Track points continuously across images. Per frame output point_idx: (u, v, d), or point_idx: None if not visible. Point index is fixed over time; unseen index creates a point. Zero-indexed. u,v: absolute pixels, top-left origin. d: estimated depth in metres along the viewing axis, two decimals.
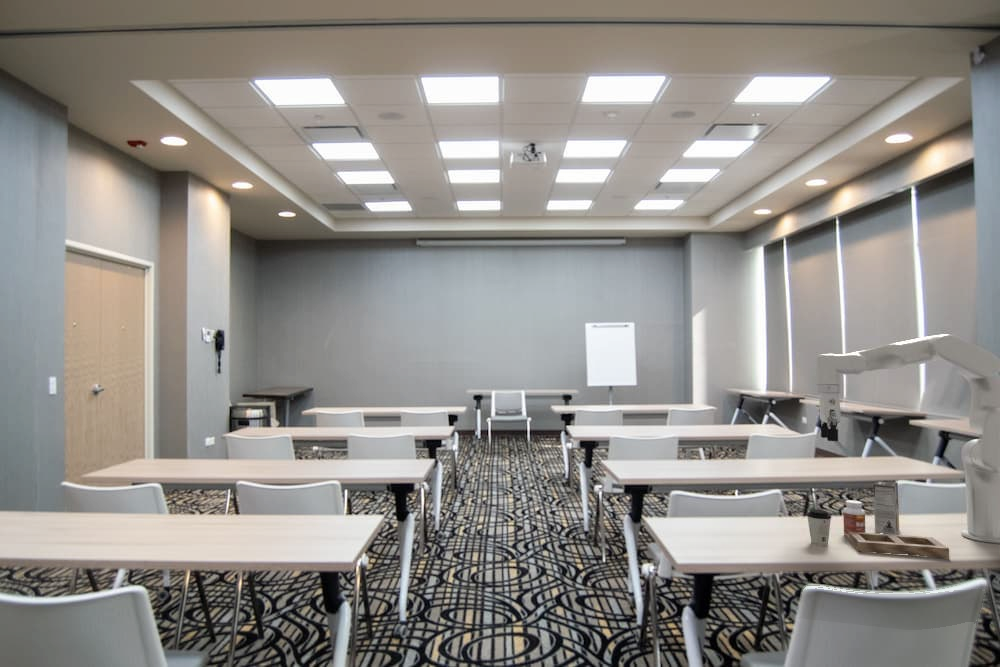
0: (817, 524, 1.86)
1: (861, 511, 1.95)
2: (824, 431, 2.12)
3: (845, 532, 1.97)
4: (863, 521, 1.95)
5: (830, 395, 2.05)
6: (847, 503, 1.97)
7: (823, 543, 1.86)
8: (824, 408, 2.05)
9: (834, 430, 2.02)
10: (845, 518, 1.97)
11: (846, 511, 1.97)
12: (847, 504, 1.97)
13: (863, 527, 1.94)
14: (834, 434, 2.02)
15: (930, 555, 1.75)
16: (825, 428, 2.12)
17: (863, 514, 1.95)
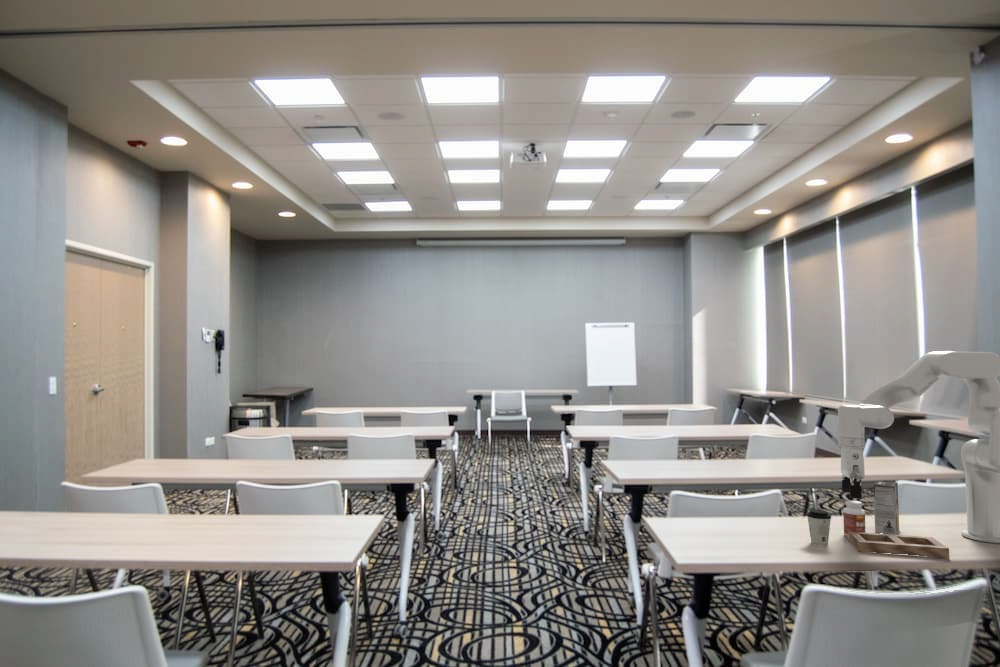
0: (817, 524, 1.86)
1: (861, 511, 1.95)
2: (845, 485, 2.02)
3: (845, 532, 1.97)
4: (863, 521, 1.95)
5: (854, 449, 1.95)
6: (847, 503, 1.97)
7: (823, 543, 1.86)
8: (847, 463, 1.95)
9: (857, 487, 1.92)
10: (845, 518, 1.97)
11: (846, 511, 1.97)
12: (847, 504, 1.97)
13: (863, 527, 1.94)
14: (857, 491, 1.92)
15: (930, 555, 1.75)
16: (847, 482, 2.02)
17: (863, 514, 1.95)
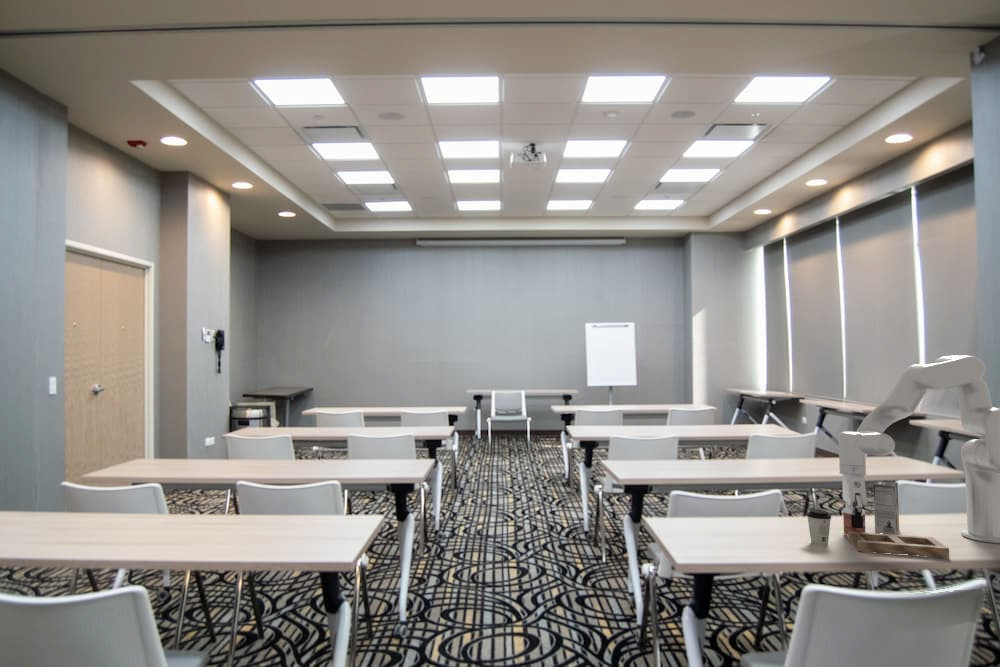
0: (817, 524, 1.86)
1: None
2: None
3: (845, 532, 1.97)
4: (863, 521, 1.95)
5: (855, 477, 1.94)
6: (847, 503, 1.97)
7: (823, 543, 1.86)
8: (849, 491, 1.95)
9: (858, 517, 1.93)
10: (845, 518, 1.97)
11: (846, 511, 1.97)
12: (847, 504, 1.97)
13: (863, 527, 1.94)
14: (859, 521, 1.93)
15: (930, 555, 1.75)
16: None
17: (863, 514, 1.95)
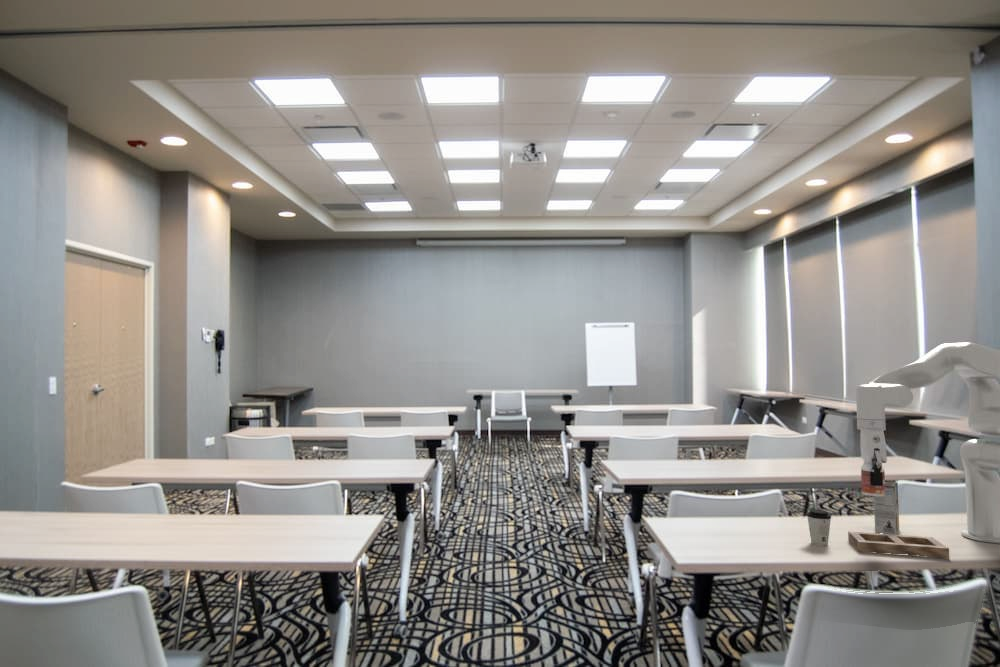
0: (817, 524, 1.86)
1: None
2: None
3: (863, 491, 1.86)
4: None
5: (874, 431, 1.83)
6: (865, 460, 1.86)
7: (823, 543, 1.86)
8: (867, 446, 1.83)
9: (878, 473, 1.82)
10: (863, 476, 1.86)
11: (864, 468, 1.85)
12: (865, 461, 1.86)
13: (882, 485, 1.83)
14: (878, 478, 1.82)
15: (930, 555, 1.75)
16: None
17: (882, 471, 1.83)
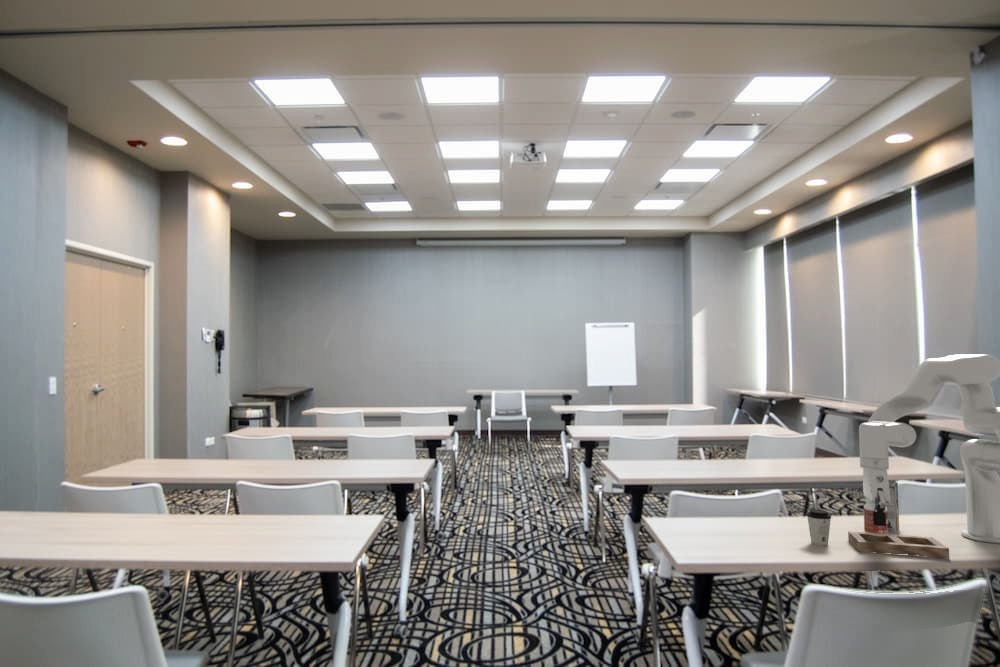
0: (817, 524, 1.86)
1: None
2: None
3: (866, 530, 1.84)
4: None
5: (877, 471, 1.81)
6: (868, 499, 1.84)
7: (823, 543, 1.86)
8: (870, 486, 1.82)
9: (881, 513, 1.80)
10: (866, 515, 1.84)
11: (867, 507, 1.84)
12: (868, 500, 1.84)
13: None
14: (881, 518, 1.80)
15: (930, 555, 1.75)
16: None
17: None
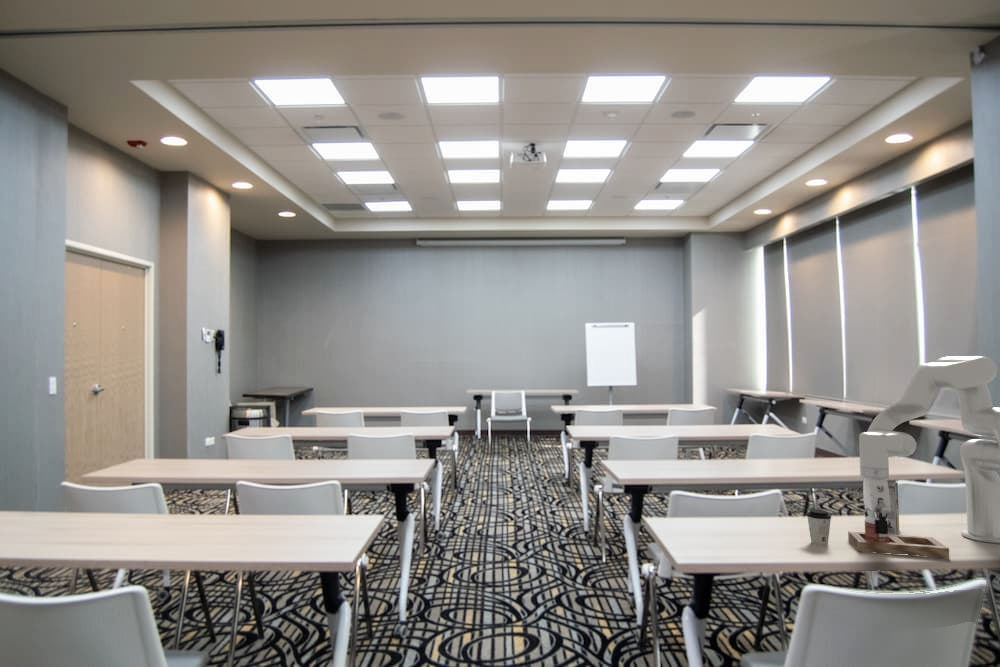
0: (817, 524, 1.86)
1: None
2: None
3: None
4: None
5: (878, 481, 1.81)
6: (869, 512, 1.84)
7: (823, 543, 1.86)
8: (871, 495, 1.81)
9: (883, 522, 1.79)
10: (867, 528, 1.84)
11: (868, 520, 1.84)
12: (869, 513, 1.84)
13: (886, 537, 1.81)
14: (883, 526, 1.78)
15: (930, 555, 1.75)
16: None
17: None
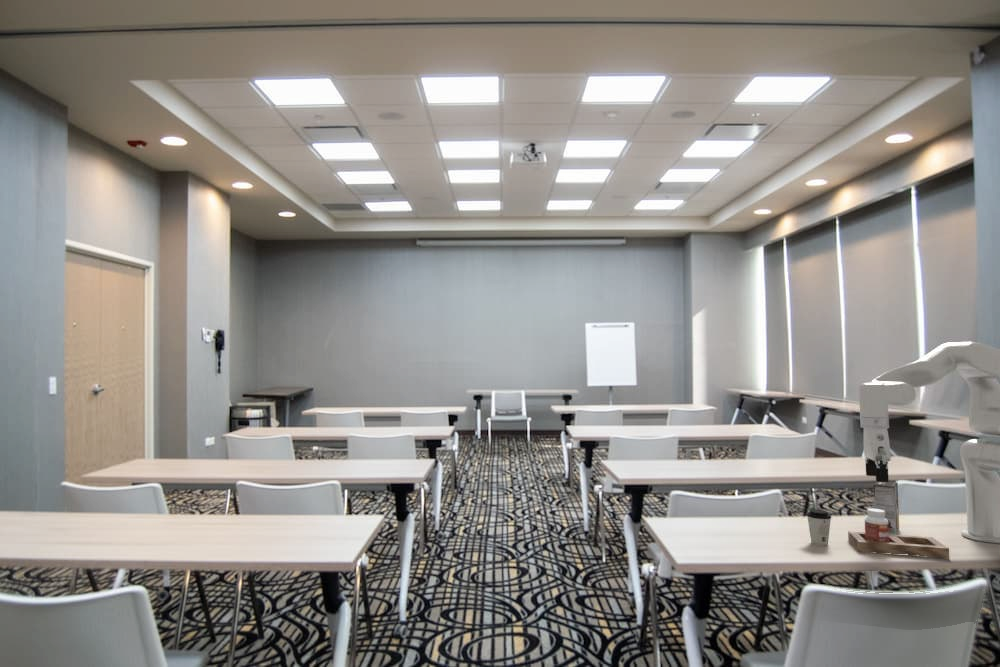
0: (817, 524, 1.86)
1: (884, 520, 1.82)
2: (870, 468, 1.90)
3: None
4: (886, 531, 1.81)
5: (878, 430, 1.82)
6: (869, 512, 1.84)
7: (823, 543, 1.86)
8: (871, 444, 1.83)
9: (883, 470, 1.80)
10: (867, 528, 1.84)
11: (868, 520, 1.84)
12: (869, 513, 1.84)
13: (886, 537, 1.81)
14: (884, 474, 1.80)
15: (930, 555, 1.75)
16: (871, 465, 1.90)
17: (886, 524, 1.82)
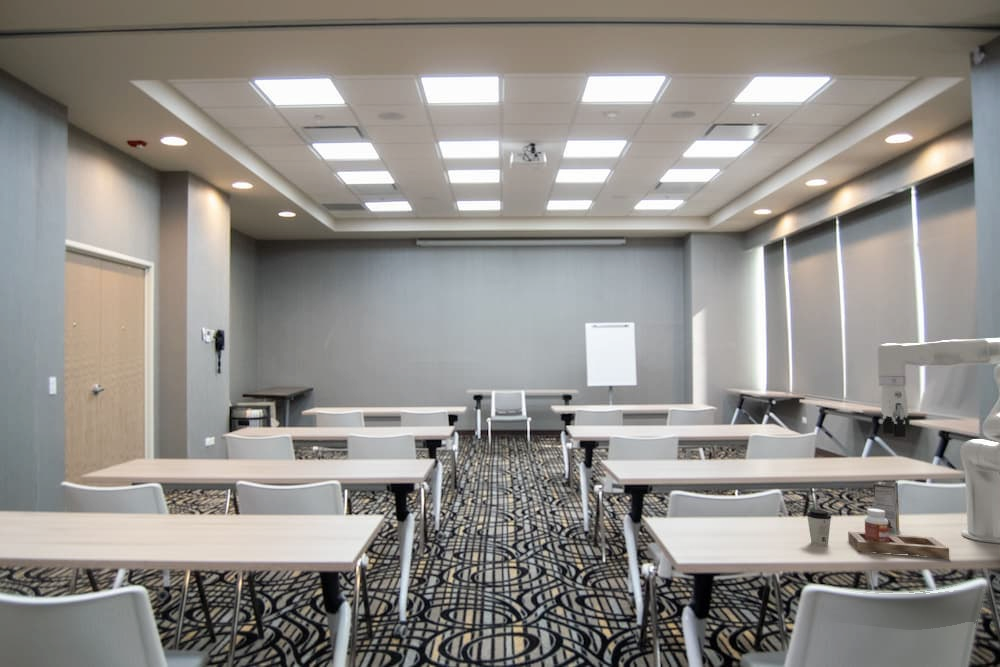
0: (817, 524, 1.86)
1: (884, 520, 1.82)
2: (887, 426, 1.99)
3: None
4: (886, 531, 1.81)
5: (896, 387, 1.91)
6: (869, 512, 1.84)
7: (823, 543, 1.86)
8: (889, 402, 1.92)
9: (901, 425, 1.89)
10: (867, 528, 1.84)
11: (868, 520, 1.84)
12: (869, 513, 1.84)
13: (886, 537, 1.81)
14: (901, 429, 1.89)
15: (930, 555, 1.75)
16: (888, 423, 1.99)
17: (886, 524, 1.82)
